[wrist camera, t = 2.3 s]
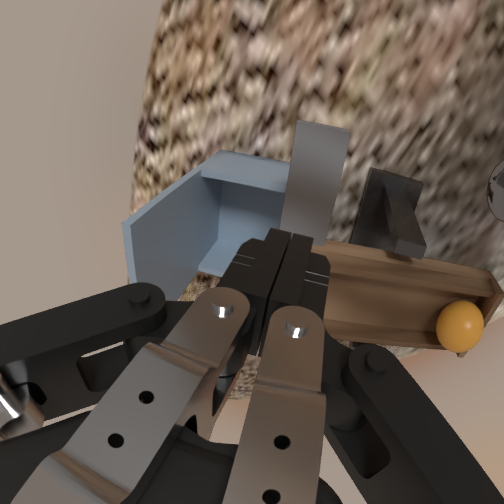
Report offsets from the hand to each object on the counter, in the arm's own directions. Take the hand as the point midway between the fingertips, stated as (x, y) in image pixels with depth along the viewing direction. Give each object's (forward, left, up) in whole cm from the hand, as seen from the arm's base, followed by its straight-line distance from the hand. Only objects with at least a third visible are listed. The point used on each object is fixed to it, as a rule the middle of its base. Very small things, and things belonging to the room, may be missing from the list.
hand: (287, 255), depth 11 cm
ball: (+8, +14, -9) cm, 18 cm away
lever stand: (+8, +7, -20) cm, 22 cm away
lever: (+4, +7, -11) cm, 13 cm away
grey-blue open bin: (+8, -4, -20) cm, 22 cm away
